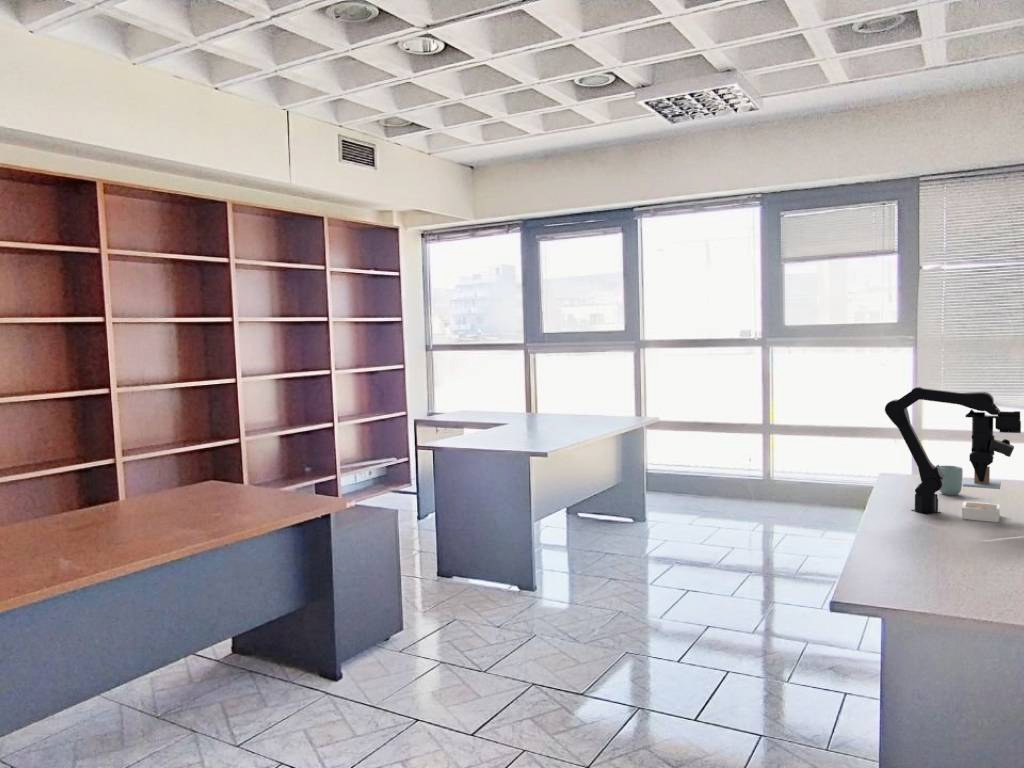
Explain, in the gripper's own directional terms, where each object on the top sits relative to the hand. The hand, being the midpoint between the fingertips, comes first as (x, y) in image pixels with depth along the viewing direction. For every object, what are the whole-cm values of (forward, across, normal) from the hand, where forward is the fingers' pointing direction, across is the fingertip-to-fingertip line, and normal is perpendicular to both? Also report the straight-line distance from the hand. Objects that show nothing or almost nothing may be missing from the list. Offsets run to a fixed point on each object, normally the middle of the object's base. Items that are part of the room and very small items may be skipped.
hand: (981, 480), depth 249 cm
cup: (+12, +36, +11) cm, 40 cm away
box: (+12, 0, 0) cm, 12 cm away
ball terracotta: (+12, +2, 0) cm, 12 cm away
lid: (+2, 0, 0) cm, 2 cm away
